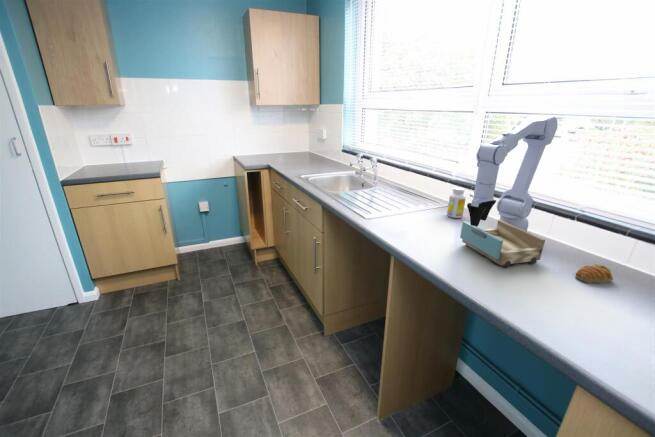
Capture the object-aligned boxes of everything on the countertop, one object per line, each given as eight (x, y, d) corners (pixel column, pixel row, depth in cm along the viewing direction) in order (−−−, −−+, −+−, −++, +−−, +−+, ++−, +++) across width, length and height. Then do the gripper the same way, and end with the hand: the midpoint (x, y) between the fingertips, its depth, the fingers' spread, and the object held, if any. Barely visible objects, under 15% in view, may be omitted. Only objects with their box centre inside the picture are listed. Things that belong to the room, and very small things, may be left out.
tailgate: (462, 237, 110) (465, 221, 108) (499, 258, 95) (503, 240, 93) (458, 237, 110) (461, 221, 108) (494, 259, 95) (498, 241, 93)
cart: (496, 241, 116) (500, 220, 113) (538, 263, 99) (545, 239, 97) (461, 244, 112) (465, 223, 109) (499, 268, 96) (505, 244, 93)
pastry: (591, 287, 87) (595, 275, 86) (567, 276, 93) (570, 264, 92) (613, 282, 90) (618, 270, 88) (588, 271, 96) (592, 260, 94)
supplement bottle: (463, 215, 143) (468, 188, 138) (460, 219, 137) (465, 191, 133) (448, 212, 146) (452, 186, 142) (445, 216, 141) (449, 188, 137)
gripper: (480, 177, 107) (473, 214, 112) (464, 184, 97) (457, 225, 102) (502, 180, 103) (494, 219, 107) (488, 188, 93) (480, 230, 97)
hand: (478, 222), depth 104 cm, fingers open, 7 cm apart
